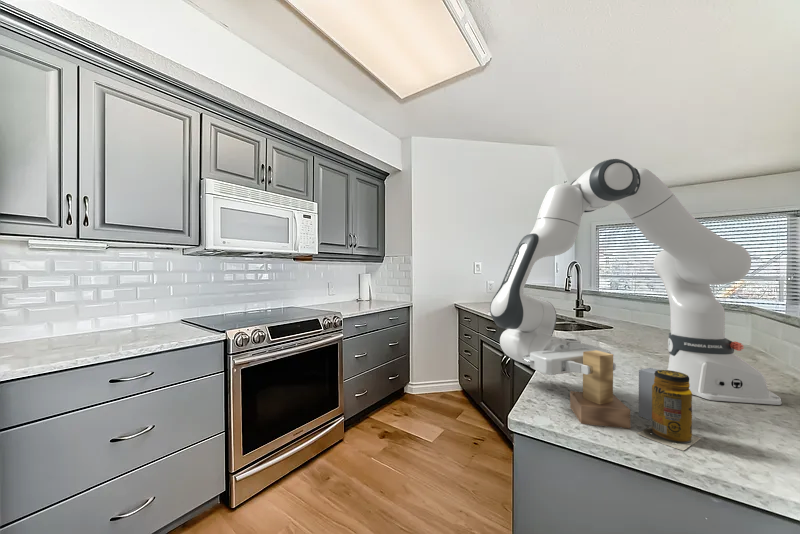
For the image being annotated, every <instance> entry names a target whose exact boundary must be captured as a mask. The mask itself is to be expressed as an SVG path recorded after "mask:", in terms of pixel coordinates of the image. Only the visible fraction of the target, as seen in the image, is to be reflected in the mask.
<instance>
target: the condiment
mask: <svg viewBox="0 0 800 534" xmlns="http://www.w3.org/2000/svg"><path fill="white" fill-rule="evenodd" d="M654 375H655V379H654V384H653V385H652V421H651V426H649V427H647V428H644V429H643V430H640V431H638V432H636V434H637V435H639V436H641V437H644V438H646V439H648V440H652V441H654V442H656V443H659V444H662V445H665V446H668V447H670V448H674V449H677V450H680V451H685V450H687V449H688V448H689V447H691V446H693V445H695V444H696V443H697V442H698V441H699V440H701V437H699V436H695V435H693V433H692V432H693V429H692V428H693V426H692V425H693V394H692V392H691V390H690V389H689V387H690V384H689V380H690V379H689V376H688V375H686V374H684V373H680V372H676V371H671V370H667V369H657V371H655V373H654Z"/></svg>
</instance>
